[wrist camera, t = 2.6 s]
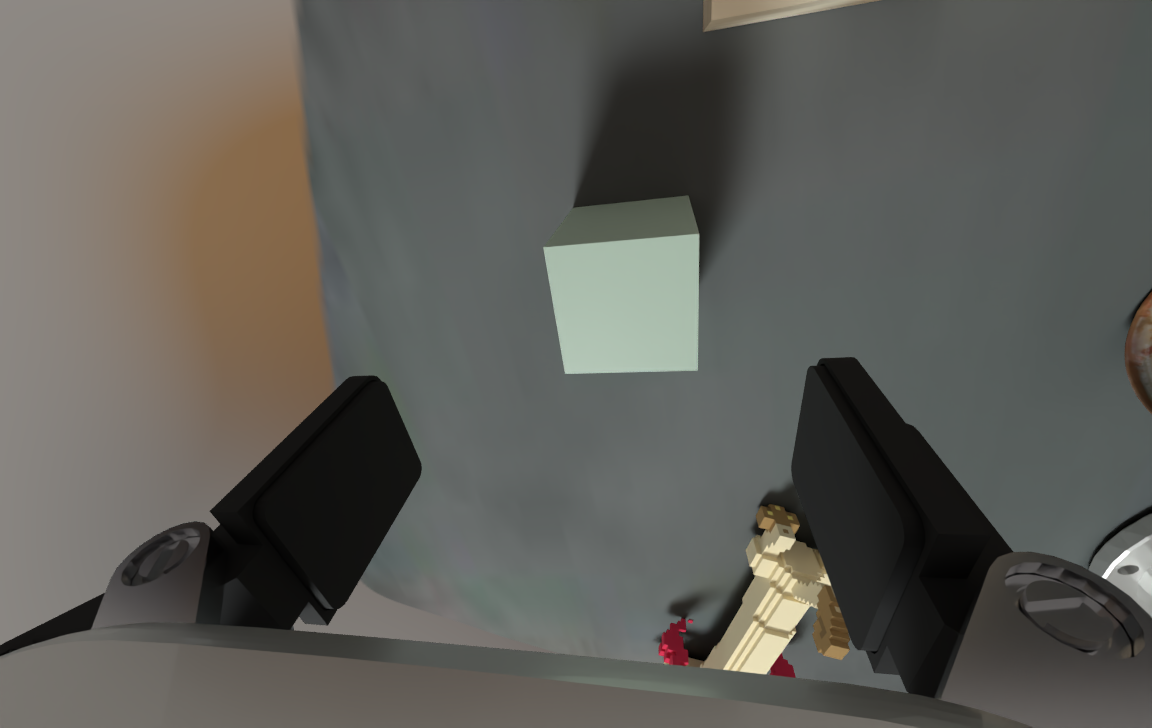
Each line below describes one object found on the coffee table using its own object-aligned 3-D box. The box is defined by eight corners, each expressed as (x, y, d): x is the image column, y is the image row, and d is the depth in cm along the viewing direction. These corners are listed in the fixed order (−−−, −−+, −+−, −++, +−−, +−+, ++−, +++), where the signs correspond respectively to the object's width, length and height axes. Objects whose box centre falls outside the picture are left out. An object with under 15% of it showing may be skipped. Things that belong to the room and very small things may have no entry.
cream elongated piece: (722, 477, 28) (632, 678, 40) (750, 602, 21) (628, 805, 32) (876, 514, 28) (739, 706, 40) (963, 656, 20) (761, 842, 32)
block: (688, 195, 18) (699, 233, 13) (688, 303, 21) (697, 370, 16) (573, 207, 19) (543, 247, 14) (586, 309, 22) (565, 373, 17)
